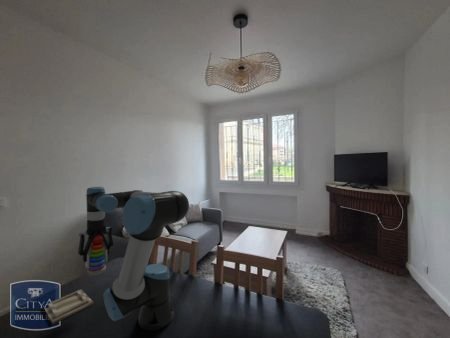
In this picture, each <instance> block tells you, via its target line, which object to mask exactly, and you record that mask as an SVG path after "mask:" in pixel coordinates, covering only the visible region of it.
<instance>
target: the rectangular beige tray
mask: <svg viewBox="0 0 450 338" xmlns="http://www.w3.org/2000/svg"><path fill="white" fill-rule="evenodd" d="M47 304H48V306H49V307H48V308H46V307H44V305H42V308H43V307H44V309H45V311H46V313H47V314H46V313H45V314H46V316H47V315H48V316H47V318H48V317H49V318H48V319H49V322H50V323H51V324H52V326H53V325H55V324H56V323H59V322H60V321H63V320H65V319H66V318H68V317H71V316H73V315H74V314H77V313H79V312H81V311H83V310H85V309H87V308H88V307H91V306H92V305H94V301H93V300H92V299H91V298H90V297H89V296H88V295H87V293H86V292H85V291H84V290H83V289H78V290H76V291H74V292H71V293H69V294H66V295H64V296H61V297H60V298H57V299H54V300H53V301H50V302H48V303H47ZM44 309H43V310H44ZM45 311H44V312H45Z"/></svg>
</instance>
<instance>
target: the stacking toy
mask: <svg viewBox="0 0 450 338" xmlns="http://www.w3.org/2000/svg"><path fill="white" fill-rule="evenodd" d="M102 241H103V237H102V236H101V235H97V236H95V237H94V240H93V241H92V243H91V246H90V248H91V249H90V253H89V268H88V269H87V270H86V273H87V274H88V275H91V276H95V275H99V274H102V273H104V272H105V270H106V269H107V266H106V262H105V258H104V257H105V256H104V248H105V247H104V243H103V242H102Z"/></svg>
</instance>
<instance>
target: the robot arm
mask: <svg viewBox="0 0 450 338" xmlns="http://www.w3.org/2000/svg"><path fill="white" fill-rule="evenodd" d="M85 196H86V219H87V220H86V231H84V232H82V233H79V246H78V252H77V254H78V255H79V256H81V257H82V260H83V262H84V265H85V268H86V269H87V270H88V268H89V261H90V260H89V258H90V253H89V251H90V248H91V245H92V244H93V243H92V241H93V240H94V237H95V236H97V235H101V236H102V237H103V241H102V242H101V243H103V246H104V247H103V248H104V249H103V251H104V256H105V257H104V258H105V263H108V255H109V254H110V249H111V247H113V246H114V241H113V235H112V231H113V230H112V229H113V228H112V227H110V226H106V213H110V212H111V213H112V212H113V211H114V210H117V209H121V208H122V209H123V210H122V217H123V218H122V224H123V228H124V230H125V231H126V233H127V234H128V235H129V238H128V243H127V247H126V248H125V253H124V257H123V260H122V265H121V268H120V272H119V275H118V276H117V277H116V278H115V279H114V280H113V283H112V286H111V287H109V288H106V289H105V290H104V291H103V302H104V307H105V311H106V312H107V314H108V316H109V319H111V320H112V321H114V322H117V321H119V320H121V319H123V318H125V317H126V316H128V315H129V314H131V313H134V312H135V311H137V310H138V309H140V311H139V314H138V325H139V328H141V329H143V330H145V331H149V332H151V331H159V330H160V329H163V328H165V327H166V326H167V325H169V324H170V323H172V320H173V318H174V315H175V313H174V312H175V311H174V310H175V309H174V307H173V303H172V301H171V298H170V296H171V295H170V291H171V290H170V289H171V288H170V278H171V276H170V270H169V268H168V266H166V265H165V264H160V263H151V264H149V261H150V258H151V254H152V251H153V248H154V245H155V242H156V240H158V239H159V238H160V237H161V236H162V234H163V231H164V228H165V227H166V226H169V225H172V224H175V223H179V222H180V221H181V220H183V219H184V218H185V217H186V216H187V214H188V212H189V209H190V204H189V203H190V202H189V198H188V197H187V196H186V195H185V194H184V193H183V192H181V191H176V190H170V191H168V190H167V191H163V192H162V191H161V192H152V191H150V192H149V191H143V190H141V189H140V190H139V189H136V190H135V189H133V190H130V191H123V192H122V191H121V192H113V193H112V192H111V193H106V190H105V187H103V186H91V187H88V188H87V189H86V195H85ZM105 232H106V235H107V239H106V237H105V235H104V233H105ZM86 236H88V237H86ZM86 238H87V240H86ZM85 241H86V243H85Z"/></svg>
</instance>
